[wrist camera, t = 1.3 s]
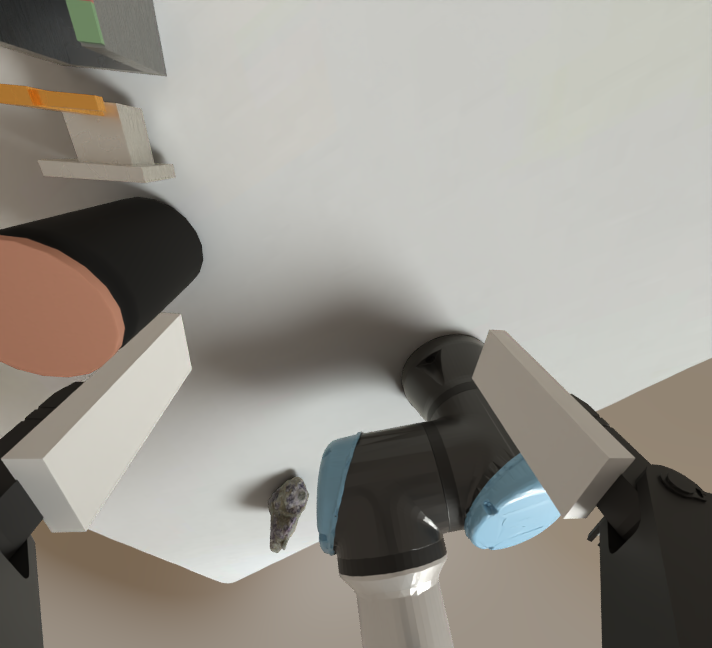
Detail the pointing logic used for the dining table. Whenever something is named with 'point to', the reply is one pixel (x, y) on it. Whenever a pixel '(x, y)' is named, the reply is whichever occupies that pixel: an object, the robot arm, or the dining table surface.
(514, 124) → the dining table surface
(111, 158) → the plunger
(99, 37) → the gauge housing
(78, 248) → the coffee jar
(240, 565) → the dining table surface
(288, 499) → the mineral rock
